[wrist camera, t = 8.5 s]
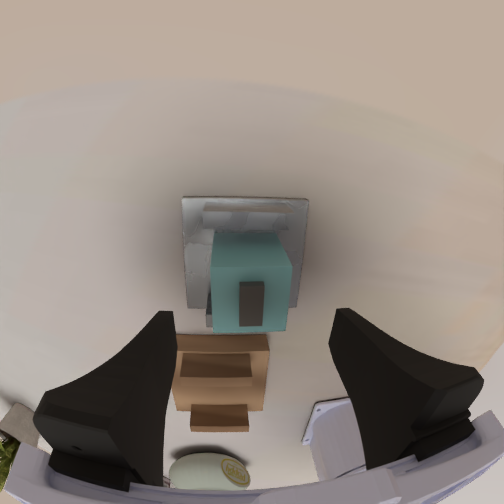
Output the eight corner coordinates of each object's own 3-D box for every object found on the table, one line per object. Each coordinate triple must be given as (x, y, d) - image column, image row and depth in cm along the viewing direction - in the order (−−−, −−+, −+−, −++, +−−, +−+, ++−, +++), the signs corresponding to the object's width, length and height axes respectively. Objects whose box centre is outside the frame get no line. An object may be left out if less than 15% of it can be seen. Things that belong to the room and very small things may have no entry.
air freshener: (255, 465, 33) (262, 522, 23) (209, 475, 34) (210, 528, 24) (210, 438, 29) (211, 509, 19) (161, 450, 30) (155, 512, 20)
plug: (272, 287, 20) (287, 336, 15) (215, 287, 20) (213, 338, 15) (276, 233, 19) (294, 270, 14) (213, 233, 18) (209, 271, 13)
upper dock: (260, 395, 26) (265, 431, 21) (178, 395, 25) (174, 431, 21) (266, 334, 22) (274, 374, 18) (167, 334, 22) (158, 373, 18)
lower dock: (294, 303, 22) (304, 327, 19) (188, 303, 21) (184, 329, 18) (306, 198, 18) (320, 210, 16) (183, 196, 18) (175, 208, 15)
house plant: (53, 399, 25) (15, 502, 10) (84, 449, 30) (65, 531, 15) (-17, 370, 23) (-61, 447, 8) (18, 424, 28) (-9, 492, 13)
